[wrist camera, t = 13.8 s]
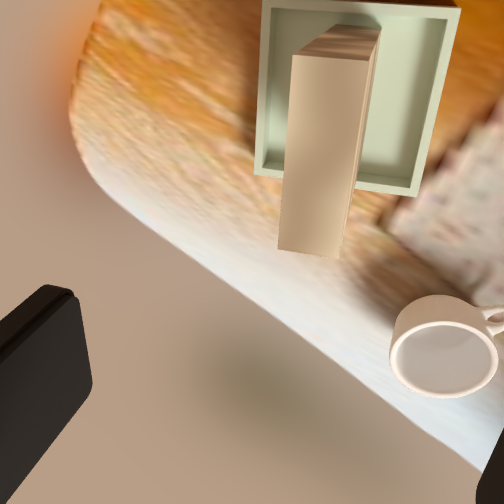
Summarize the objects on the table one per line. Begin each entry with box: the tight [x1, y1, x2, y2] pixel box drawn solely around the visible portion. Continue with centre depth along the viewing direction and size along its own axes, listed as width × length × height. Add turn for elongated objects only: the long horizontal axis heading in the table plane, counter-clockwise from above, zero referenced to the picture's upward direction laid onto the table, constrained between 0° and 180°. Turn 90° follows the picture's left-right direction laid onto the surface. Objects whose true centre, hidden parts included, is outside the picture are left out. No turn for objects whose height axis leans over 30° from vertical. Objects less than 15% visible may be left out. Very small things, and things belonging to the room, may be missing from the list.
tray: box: [254, 0, 461, 197], centre depth 33 cm, size 12×12×2 cm
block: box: [278, 24, 382, 259], centre depth 28 cm, size 3×9×15 cm, turn 178°
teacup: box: [389, 295, 504, 398], centre depth 39 cm, size 10×8×5 cm
